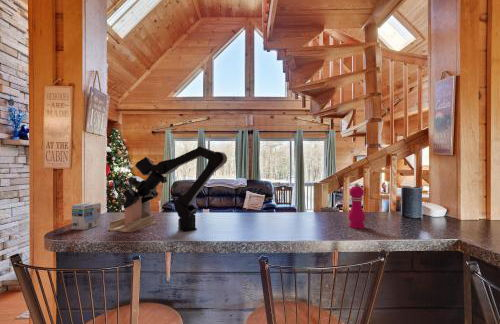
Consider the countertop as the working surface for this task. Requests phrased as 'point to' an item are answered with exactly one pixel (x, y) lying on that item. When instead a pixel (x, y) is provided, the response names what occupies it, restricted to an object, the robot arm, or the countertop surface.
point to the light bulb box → (86, 215)
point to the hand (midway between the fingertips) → (130, 206)
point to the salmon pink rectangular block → (133, 211)
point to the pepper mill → (356, 208)
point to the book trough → (134, 225)
